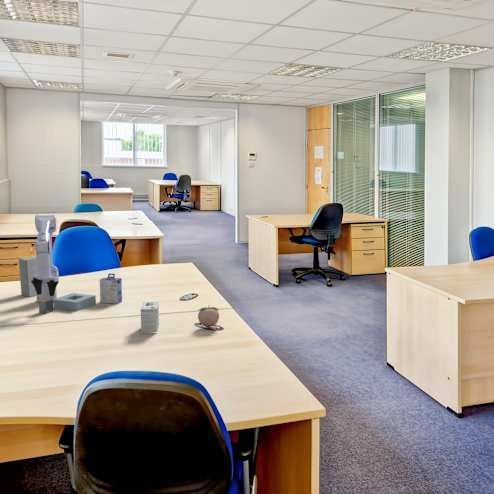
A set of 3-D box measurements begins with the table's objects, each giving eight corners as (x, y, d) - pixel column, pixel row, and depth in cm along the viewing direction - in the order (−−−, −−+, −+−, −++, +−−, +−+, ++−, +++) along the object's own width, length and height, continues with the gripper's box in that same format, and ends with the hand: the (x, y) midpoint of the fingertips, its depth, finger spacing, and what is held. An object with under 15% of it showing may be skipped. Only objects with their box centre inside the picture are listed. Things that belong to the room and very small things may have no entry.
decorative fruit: (201, 332, 217) (201, 309, 216) (195, 326, 225) (195, 304, 223) (222, 329, 221) (222, 306, 220) (216, 323, 229) (216, 302, 227)
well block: (53, 307, 252) (53, 299, 251) (73, 300, 264) (73, 292, 264) (77, 311, 246) (76, 302, 246) (95, 303, 259) (95, 295, 259)
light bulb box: (143, 326, 225) (143, 301, 223) (159, 325, 226) (158, 301, 224) (140, 334, 214) (140, 308, 213) (157, 333, 215) (156, 308, 213)
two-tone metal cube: (39, 313, 243) (38, 299, 242) (47, 310, 247) (46, 297, 246) (46, 314, 241) (45, 300, 240) (53, 311, 246) (53, 298, 245)
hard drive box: (46, 289, 288) (44, 254, 284) (54, 291, 283) (52, 255, 280) (20, 295, 275) (18, 258, 272) (28, 297, 271) (26, 259, 268)
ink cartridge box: (122, 301, 265) (122, 273, 262) (118, 304, 259) (117, 275, 257) (104, 300, 267) (103, 272, 264) (99, 302, 261) (98, 274, 259)
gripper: (25, 267, 240) (27, 295, 242) (50, 269, 235) (51, 298, 237) (36, 264, 246) (38, 292, 248) (61, 266, 241) (62, 295, 243)
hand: (45, 295), depth 243 cm, fingers open, 7 cm apart
